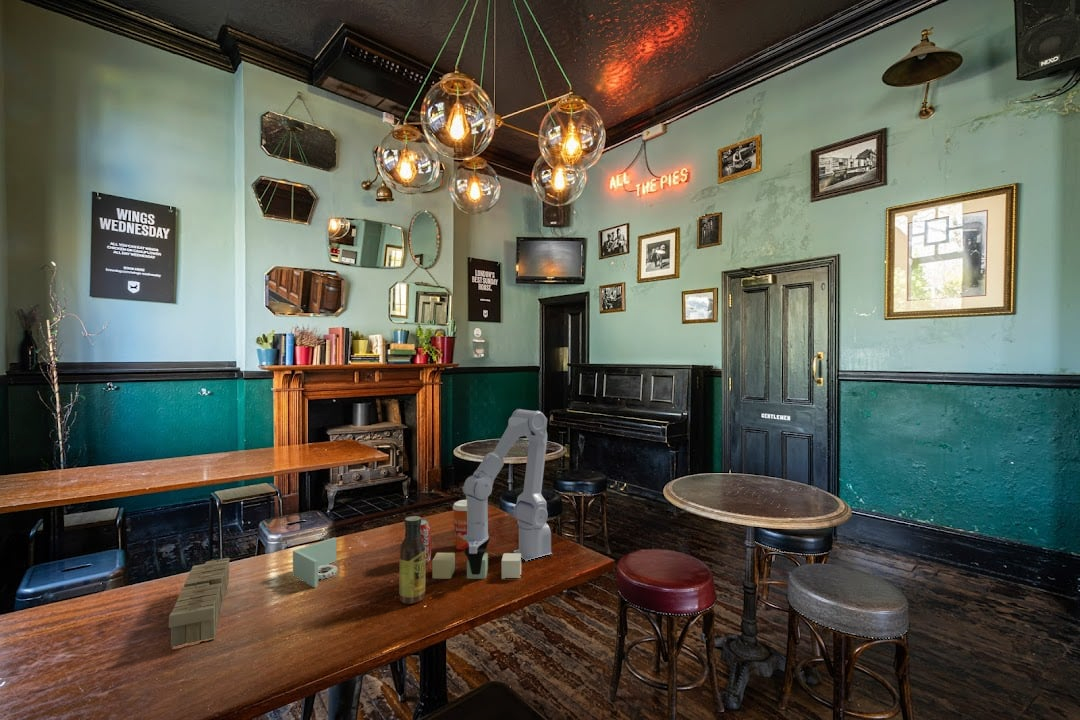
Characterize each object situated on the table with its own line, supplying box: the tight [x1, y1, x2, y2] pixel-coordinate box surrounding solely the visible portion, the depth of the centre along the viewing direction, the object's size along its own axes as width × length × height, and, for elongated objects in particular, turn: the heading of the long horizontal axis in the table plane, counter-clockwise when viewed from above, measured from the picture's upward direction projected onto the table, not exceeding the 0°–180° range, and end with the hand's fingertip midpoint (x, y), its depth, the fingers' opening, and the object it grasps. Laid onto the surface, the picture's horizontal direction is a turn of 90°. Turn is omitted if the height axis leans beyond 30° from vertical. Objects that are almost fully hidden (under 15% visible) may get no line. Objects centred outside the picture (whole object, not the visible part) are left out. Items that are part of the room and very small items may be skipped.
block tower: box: [168, 557, 230, 648], centre depth 108 cm, size 8×8×29 cm
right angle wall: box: [292, 536, 338, 588], centre depth 129 cm, size 12×12×8 cm
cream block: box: [501, 552, 522, 580], centre depth 128 cm, size 5×5×5 cm
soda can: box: [421, 518, 432, 565], centre depth 136 cm, size 7×7×12 cm
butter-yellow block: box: [431, 552, 456, 580], centre depth 128 cm, size 5×5×5 cm
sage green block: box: [466, 552, 489, 580], centre depth 128 cm, size 5×5×5 cm
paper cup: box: [452, 499, 469, 551], centre depth 147 cm, size 8×8×14 cm
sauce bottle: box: [398, 515, 427, 605], centre depth 115 cm, size 7×6×20 cm
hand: (477, 569), depth 128 cm, fingers closed on sage green block, 5 cm apart
